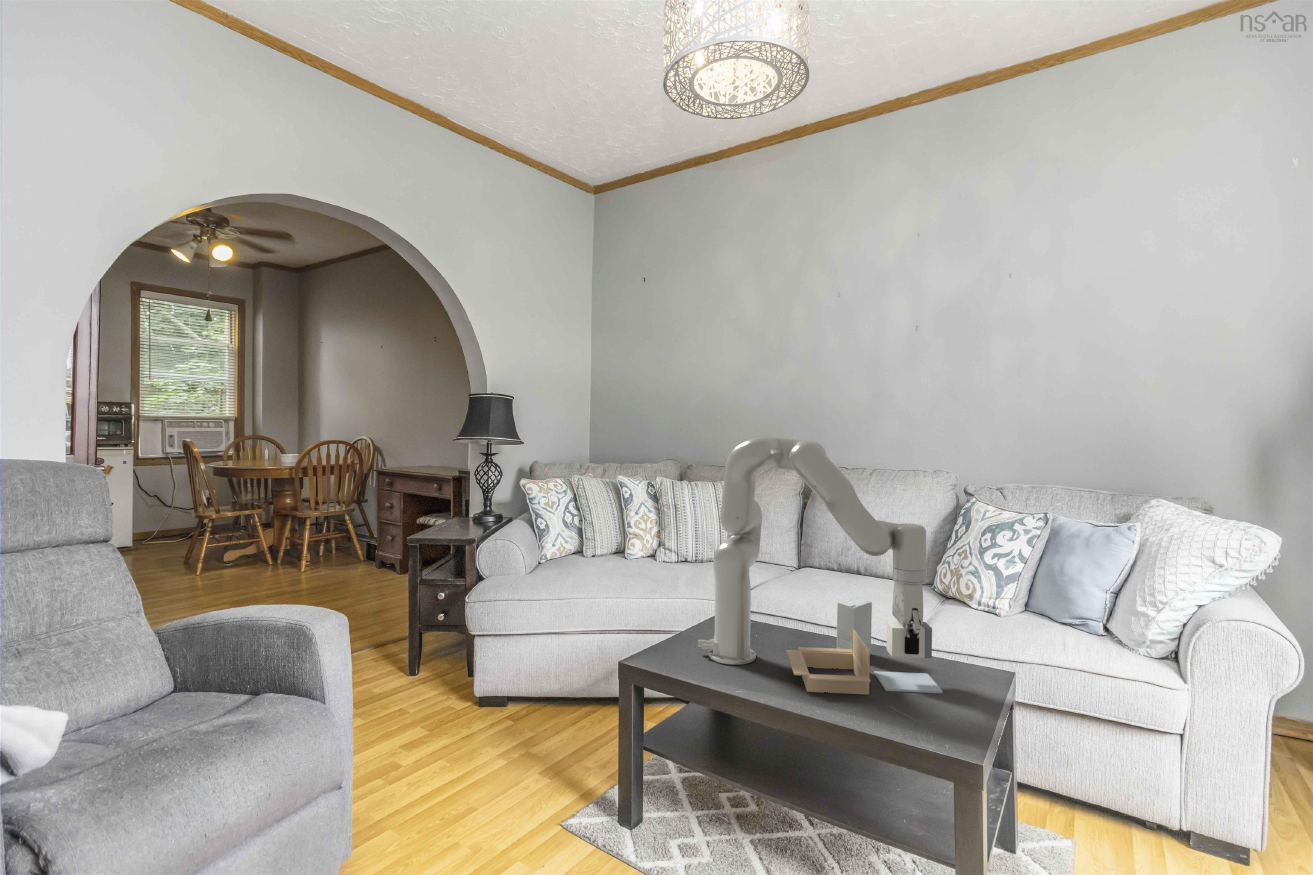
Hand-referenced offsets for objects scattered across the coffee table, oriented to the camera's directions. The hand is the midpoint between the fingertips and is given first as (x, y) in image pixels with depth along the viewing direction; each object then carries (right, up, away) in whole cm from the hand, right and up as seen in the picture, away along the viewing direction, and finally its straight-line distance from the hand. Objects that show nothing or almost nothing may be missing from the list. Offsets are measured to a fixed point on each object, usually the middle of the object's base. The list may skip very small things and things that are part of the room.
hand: (908, 648), depth 160 cm
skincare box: (-8, -8, +19) cm, 22 cm away
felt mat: (0, -8, 0) cm, 8 cm away
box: (0, -1, 0) cm, 1 cm away
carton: (-20, -8, +2) cm, 21 cm away
